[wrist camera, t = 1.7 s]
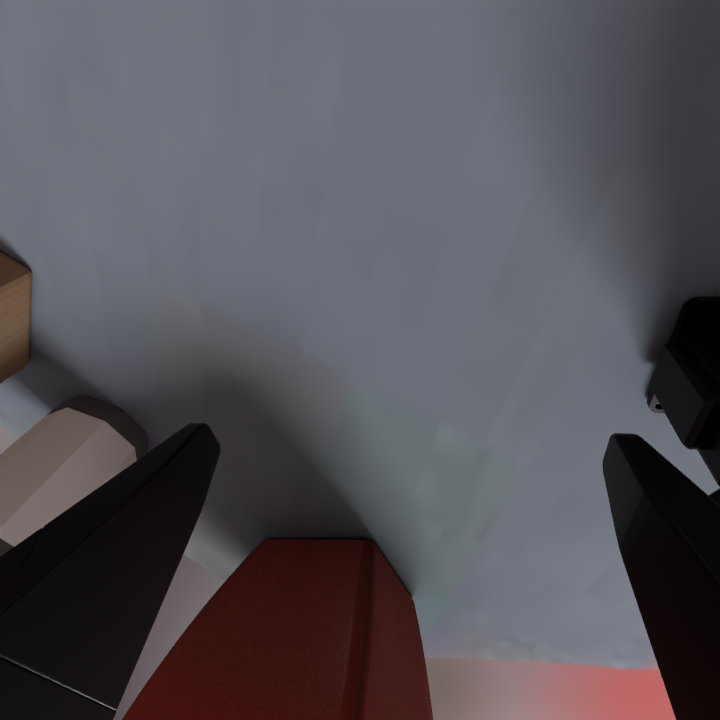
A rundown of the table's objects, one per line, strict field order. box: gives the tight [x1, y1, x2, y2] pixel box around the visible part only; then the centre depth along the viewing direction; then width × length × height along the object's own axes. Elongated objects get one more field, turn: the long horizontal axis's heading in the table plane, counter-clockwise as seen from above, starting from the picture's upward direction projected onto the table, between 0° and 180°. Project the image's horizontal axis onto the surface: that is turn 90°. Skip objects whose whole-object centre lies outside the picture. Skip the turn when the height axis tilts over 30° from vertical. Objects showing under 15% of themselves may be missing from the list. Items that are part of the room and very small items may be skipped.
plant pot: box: [122, 539, 433, 720], centre depth 34 cm, size 19×19×17 cm
